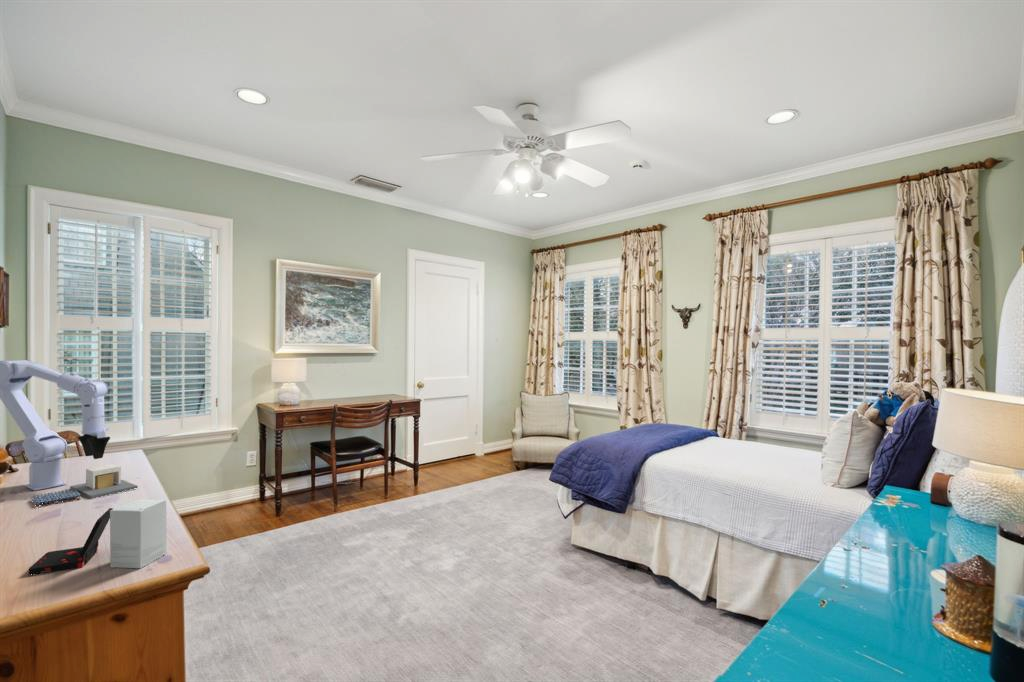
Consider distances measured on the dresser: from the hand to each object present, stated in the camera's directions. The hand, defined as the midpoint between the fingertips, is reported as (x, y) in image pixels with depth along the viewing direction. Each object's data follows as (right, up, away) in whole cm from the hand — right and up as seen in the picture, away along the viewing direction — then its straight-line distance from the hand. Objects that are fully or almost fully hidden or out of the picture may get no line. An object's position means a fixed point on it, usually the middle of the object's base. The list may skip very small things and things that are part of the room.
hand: (94, 457), depth 161 cm
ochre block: (+7, -10, -4) cm, 12 cm away
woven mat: (+2, -10, -15) cm, 18 cm away
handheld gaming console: (+44, -10, -55) cm, 71 cm away
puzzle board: (+7, -10, -4) cm, 13 cm away
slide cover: (+7, -8, -4) cm, 11 cm away
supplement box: (+58, -10, -55) cm, 81 cm away
